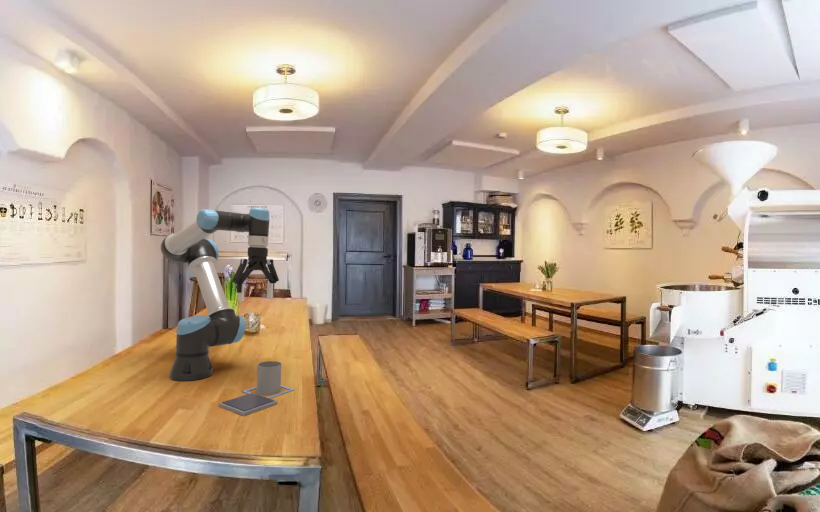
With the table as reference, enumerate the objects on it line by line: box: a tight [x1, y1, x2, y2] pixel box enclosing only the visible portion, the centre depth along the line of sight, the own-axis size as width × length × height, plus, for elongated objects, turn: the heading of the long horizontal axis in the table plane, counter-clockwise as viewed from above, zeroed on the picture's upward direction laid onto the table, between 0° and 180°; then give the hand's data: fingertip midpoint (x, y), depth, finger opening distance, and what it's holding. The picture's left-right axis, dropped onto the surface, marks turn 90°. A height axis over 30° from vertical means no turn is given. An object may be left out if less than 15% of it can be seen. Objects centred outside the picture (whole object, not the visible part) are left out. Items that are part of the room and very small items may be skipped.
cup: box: [255, 360, 282, 396], centre depth 149 cm, size 8×8×10 cm
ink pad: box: [218, 392, 278, 417], centre depth 135 cm, size 13×13×1 cm
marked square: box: [241, 385, 295, 399], centre depth 149 cm, size 13×13×1 cm
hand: (255, 300), depth 162 cm, fingers open, 13 cm apart
